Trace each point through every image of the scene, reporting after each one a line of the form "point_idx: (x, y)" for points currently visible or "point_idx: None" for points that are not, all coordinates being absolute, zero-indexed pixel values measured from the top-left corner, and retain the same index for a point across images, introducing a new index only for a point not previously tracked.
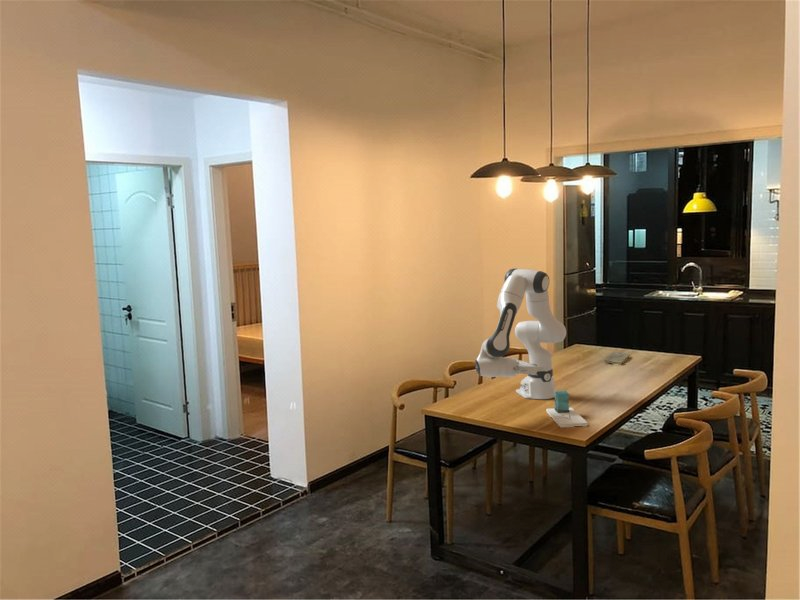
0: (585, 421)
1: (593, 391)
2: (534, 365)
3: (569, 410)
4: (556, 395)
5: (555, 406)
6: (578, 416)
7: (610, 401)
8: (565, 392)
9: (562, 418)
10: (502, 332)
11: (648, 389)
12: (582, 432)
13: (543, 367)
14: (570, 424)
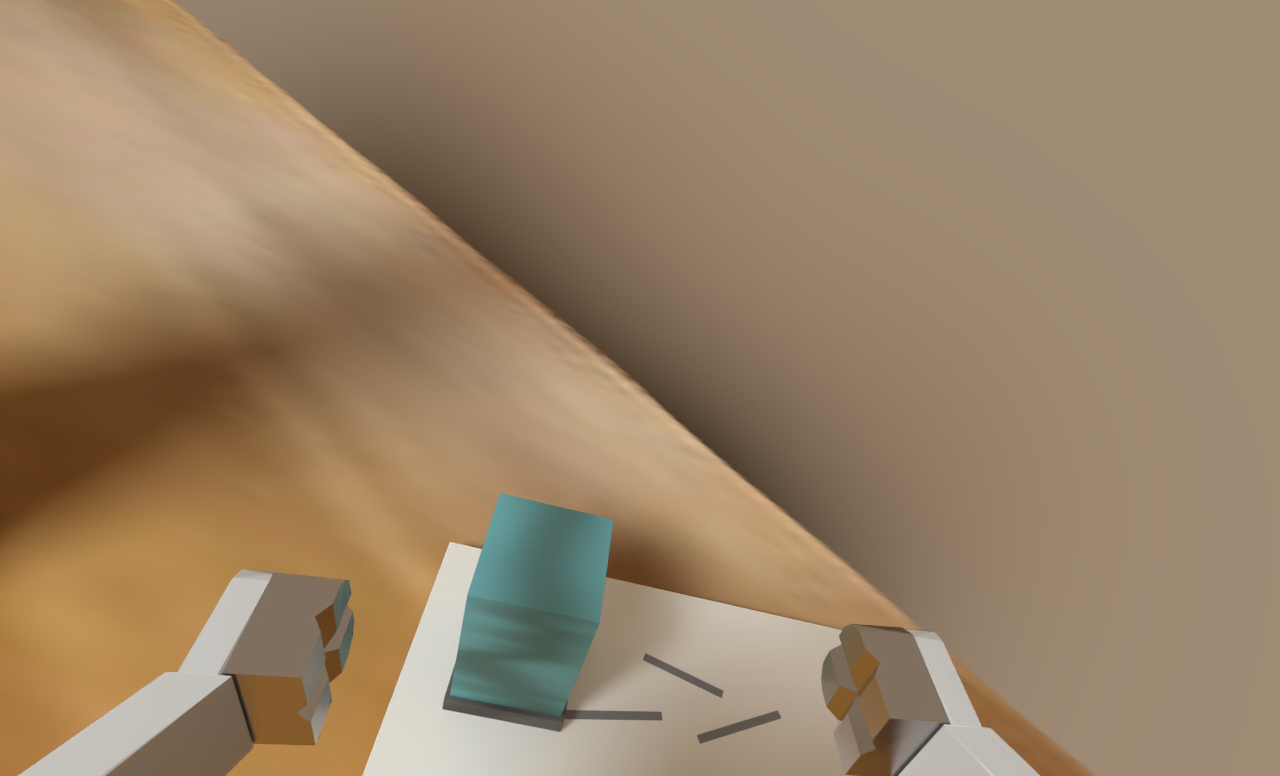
0: (822, 630)
1: (106, 238)
2: (319, 668)
3: None
4: (533, 630)
5: (466, 690)
6: (696, 614)
7: (378, 294)
8: (576, 530)
9: (736, 770)
10: None
11: (298, 128)
12: None
13: (936, 642)
14: None
